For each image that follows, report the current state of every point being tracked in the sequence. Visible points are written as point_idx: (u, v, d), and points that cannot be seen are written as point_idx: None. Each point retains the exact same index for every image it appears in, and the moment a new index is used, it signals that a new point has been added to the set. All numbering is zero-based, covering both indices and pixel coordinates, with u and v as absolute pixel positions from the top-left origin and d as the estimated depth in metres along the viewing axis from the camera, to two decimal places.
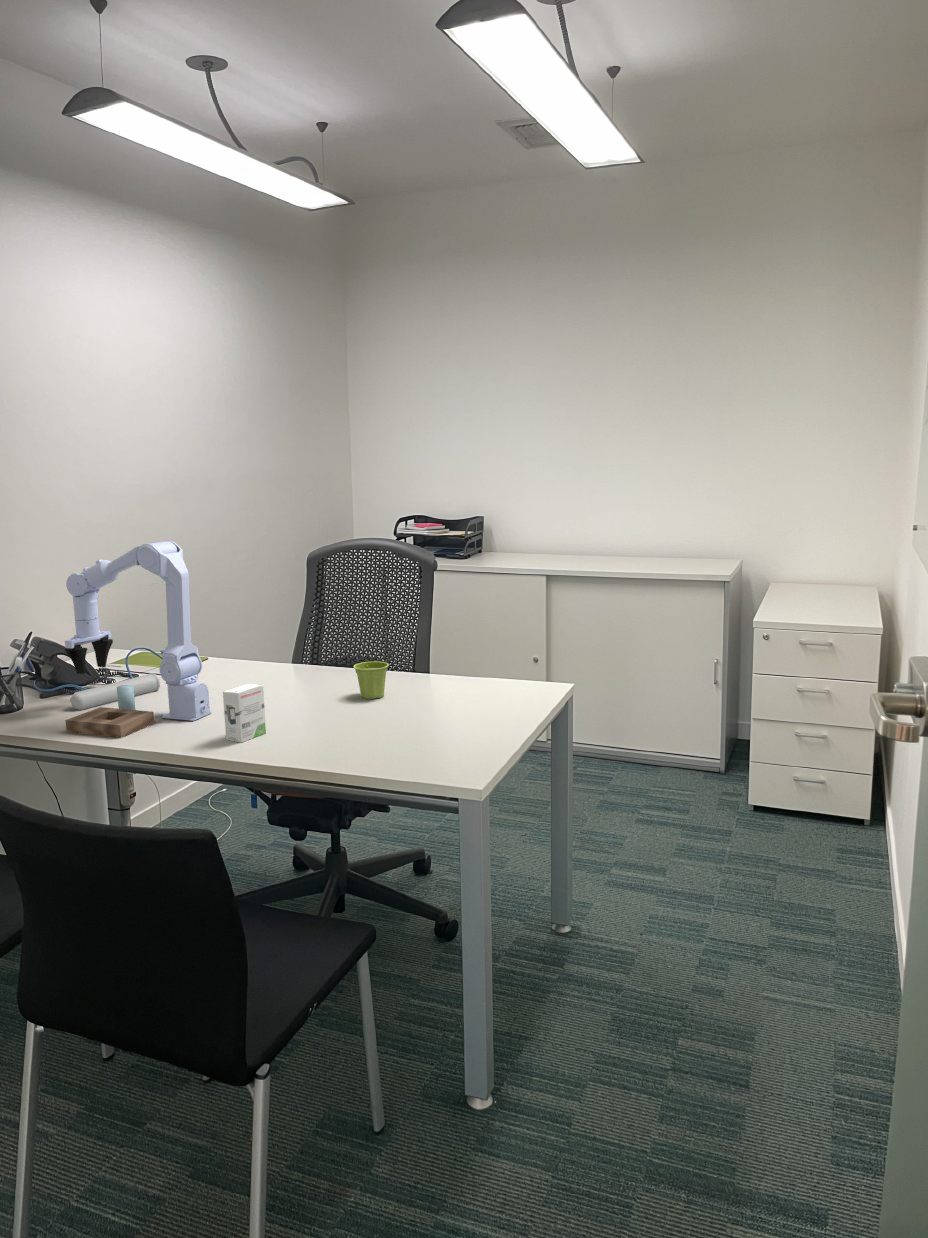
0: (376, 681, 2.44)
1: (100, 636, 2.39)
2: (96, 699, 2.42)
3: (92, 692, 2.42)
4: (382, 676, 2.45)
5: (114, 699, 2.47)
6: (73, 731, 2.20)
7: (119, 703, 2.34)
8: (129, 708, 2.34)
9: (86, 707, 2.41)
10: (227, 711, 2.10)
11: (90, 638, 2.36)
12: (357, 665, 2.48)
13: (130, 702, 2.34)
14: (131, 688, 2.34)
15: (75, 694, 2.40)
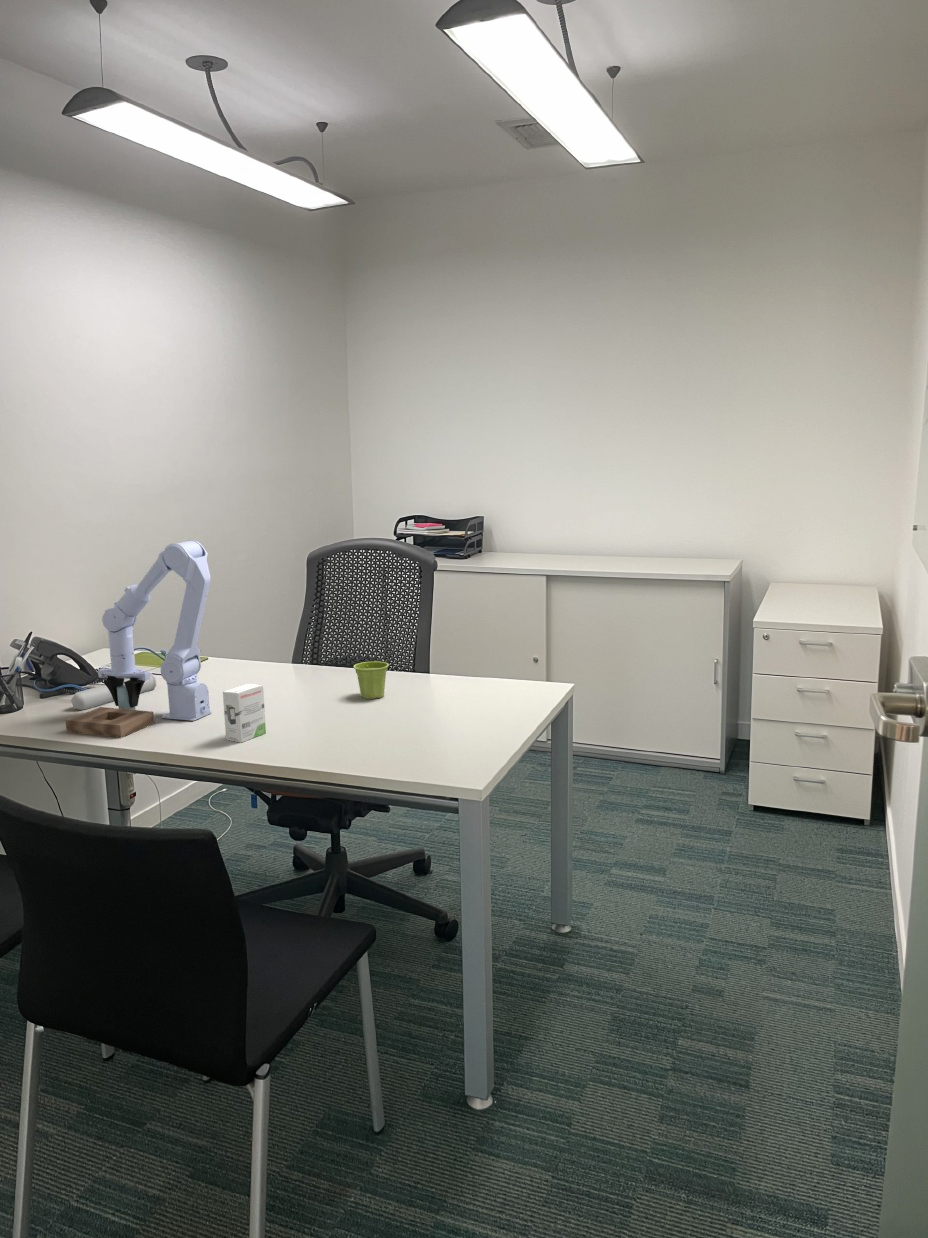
0: (376, 681, 2.44)
1: (120, 675, 2.31)
2: (97, 699, 2.42)
3: (93, 692, 2.42)
4: (382, 676, 2.45)
5: None
6: (73, 731, 2.20)
7: (119, 703, 2.34)
8: (129, 708, 2.34)
9: (88, 707, 2.41)
10: (227, 711, 2.10)
11: (110, 673, 2.33)
12: (357, 665, 2.48)
13: None
14: None
15: (76, 694, 2.40)
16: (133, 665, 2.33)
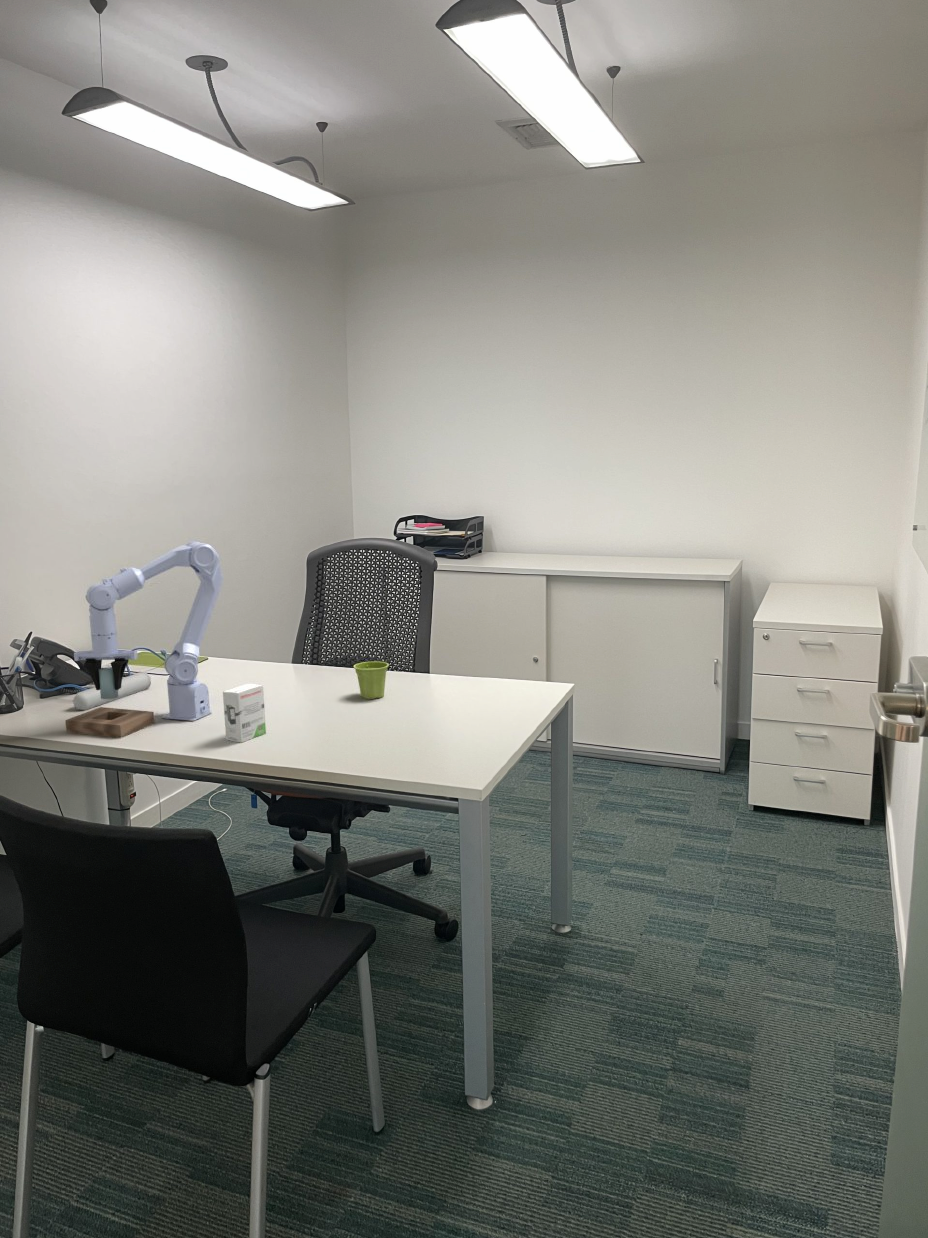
0: (376, 681, 2.44)
1: (106, 655, 2.18)
2: (99, 698, 2.43)
3: (94, 692, 2.42)
4: (382, 676, 2.45)
5: (113, 698, 2.48)
6: (73, 731, 2.20)
7: (103, 686, 2.21)
8: (114, 691, 2.22)
9: (90, 707, 2.41)
10: (227, 711, 2.10)
11: (92, 655, 2.19)
12: (357, 665, 2.48)
13: None
14: None
15: (78, 694, 2.39)
16: (117, 645, 2.21)
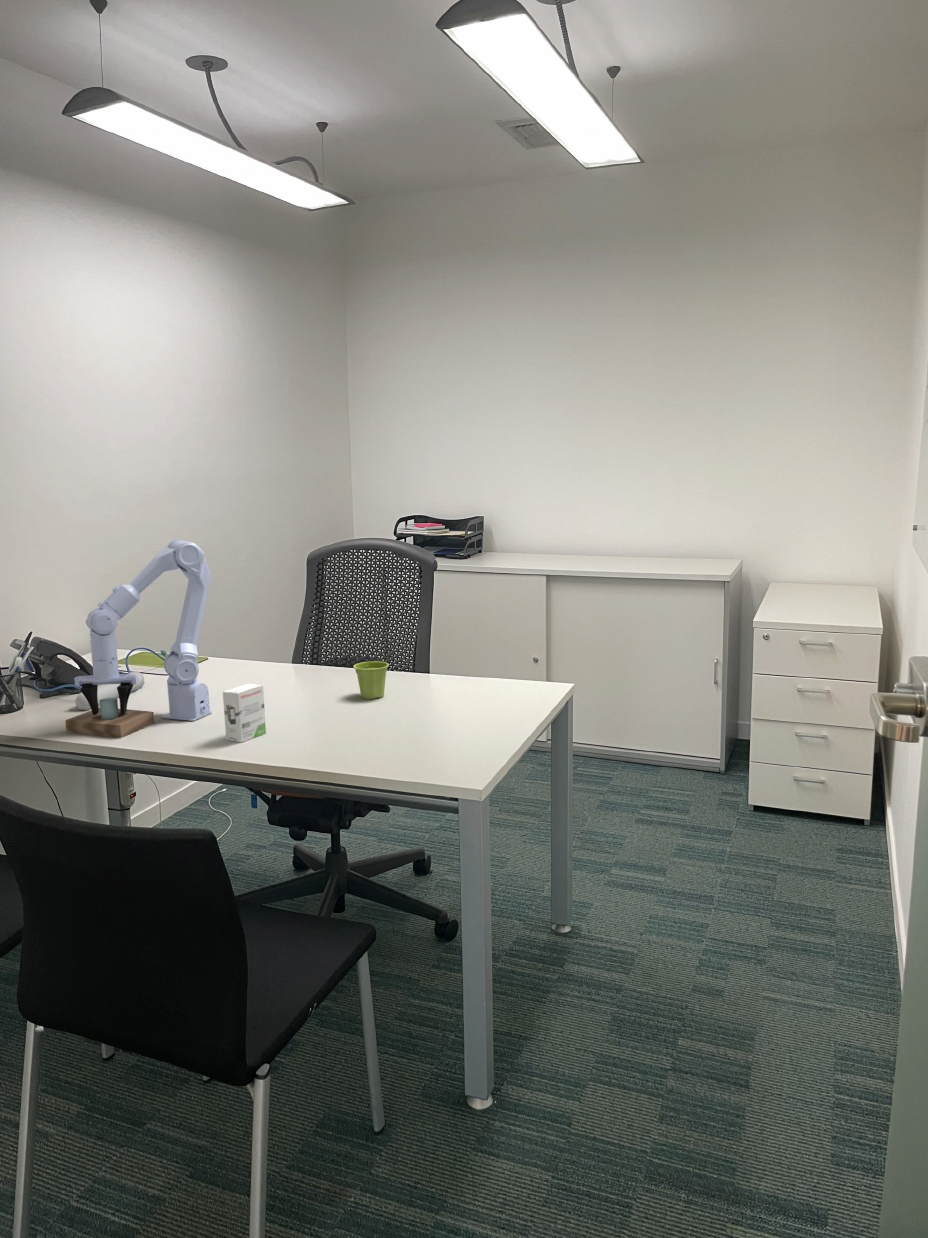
0: (376, 681, 2.44)
1: (107, 680, 2.18)
2: (100, 698, 2.43)
3: None
4: (382, 676, 2.45)
5: None
6: (73, 731, 2.20)
7: (105, 718, 2.21)
8: None
9: None
10: (227, 711, 2.10)
11: (94, 680, 2.19)
12: (357, 665, 2.48)
13: (117, 715, 2.22)
14: (116, 700, 2.22)
15: (81, 695, 2.39)
16: (118, 669, 2.21)
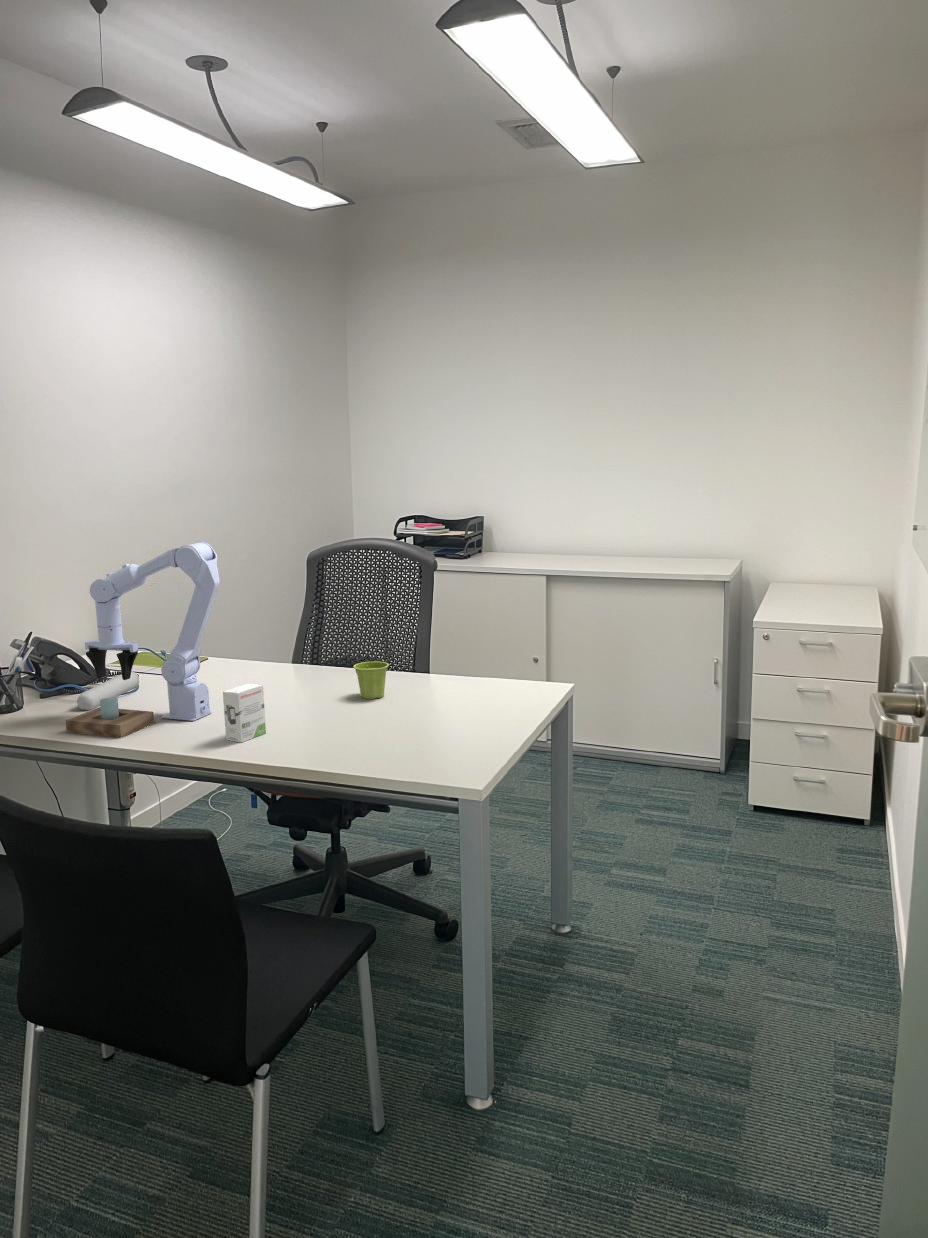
0: (376, 681, 2.44)
1: (107, 646, 2.29)
2: (101, 698, 2.43)
3: (97, 691, 2.43)
4: (382, 676, 2.45)
5: (111, 697, 2.49)
6: (73, 731, 2.20)
7: (105, 717, 2.21)
8: None
9: (94, 707, 2.41)
10: (227, 711, 2.10)
11: (97, 645, 2.30)
12: (357, 665, 2.48)
13: (117, 715, 2.22)
14: (117, 700, 2.22)
15: (83, 695, 2.39)
16: (121, 637, 2.31)
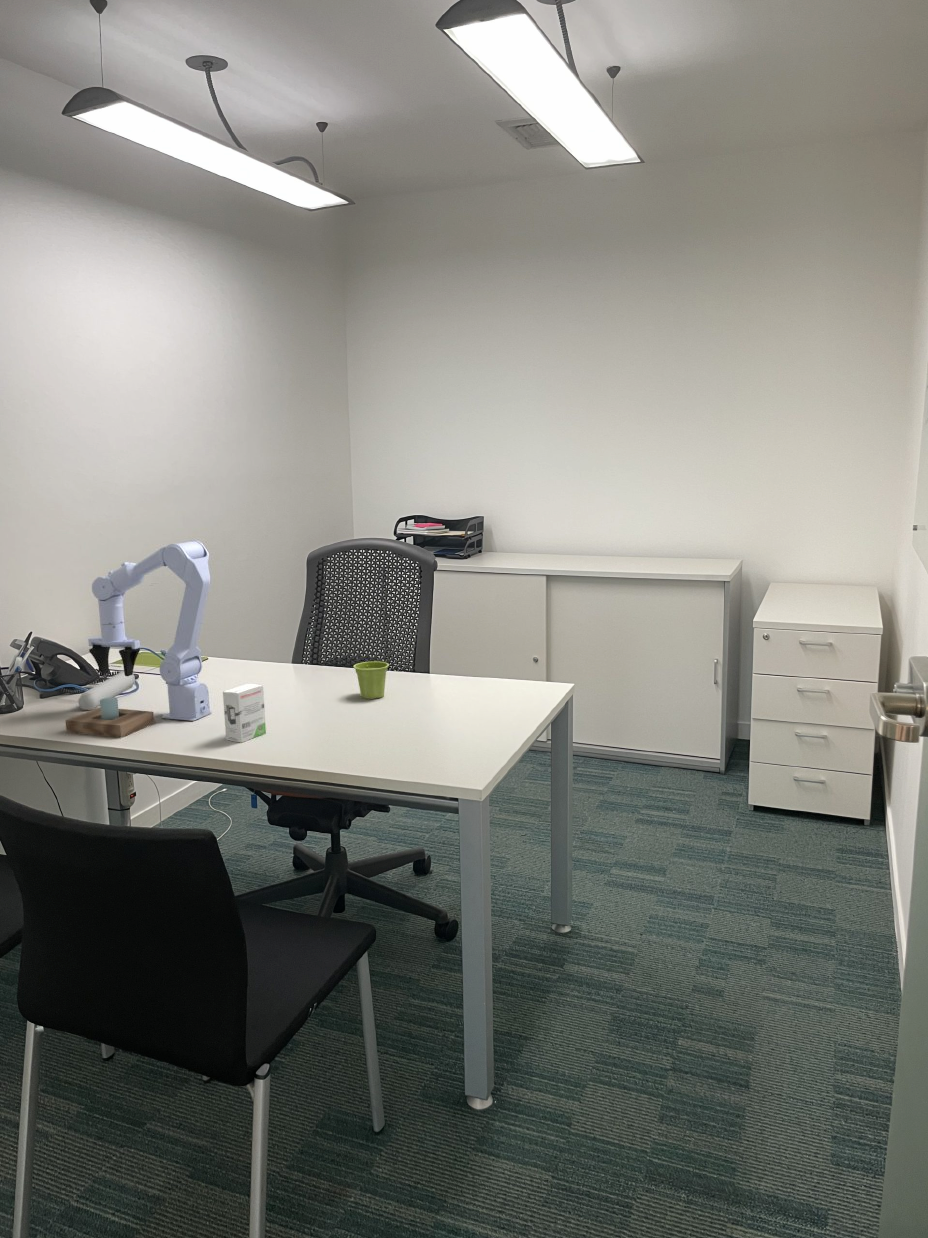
0: (376, 681, 2.44)
1: (110, 643, 2.33)
2: (102, 698, 2.43)
3: (97, 691, 2.43)
4: (382, 676, 2.45)
5: (110, 697, 2.49)
6: (73, 731, 2.20)
7: (105, 718, 2.21)
8: None
9: (96, 706, 2.41)
10: (227, 711, 2.10)
11: (100, 642, 2.34)
12: (357, 665, 2.48)
13: (117, 715, 2.22)
14: (117, 700, 2.22)
15: (85, 695, 2.39)
16: (123, 634, 2.35)
